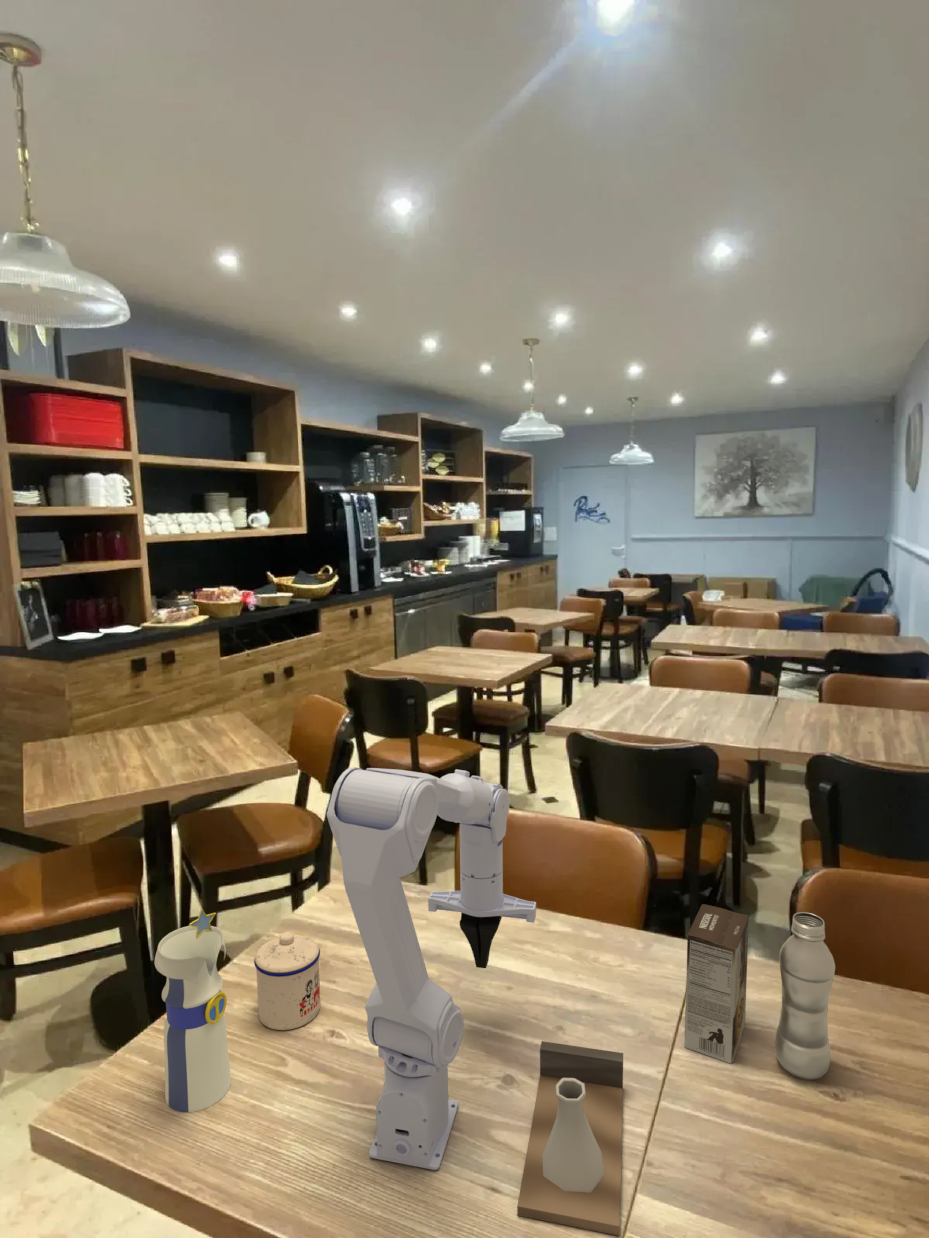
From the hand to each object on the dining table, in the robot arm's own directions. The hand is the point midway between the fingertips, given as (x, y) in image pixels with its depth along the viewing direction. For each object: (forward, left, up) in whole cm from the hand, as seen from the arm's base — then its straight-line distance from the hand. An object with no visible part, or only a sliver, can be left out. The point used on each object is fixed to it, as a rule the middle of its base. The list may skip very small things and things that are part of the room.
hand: (482, 963), depth 100 cm
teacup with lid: (-1, +28, -10) cm, 30 cm away
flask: (-20, -14, -10) cm, 27 cm away
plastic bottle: (+1, -41, -10) cm, 42 cm away
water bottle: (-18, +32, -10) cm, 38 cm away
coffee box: (+5, -31, -10) cm, 33 cm away
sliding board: (-18, -14, -9) cm, 24 cm away
